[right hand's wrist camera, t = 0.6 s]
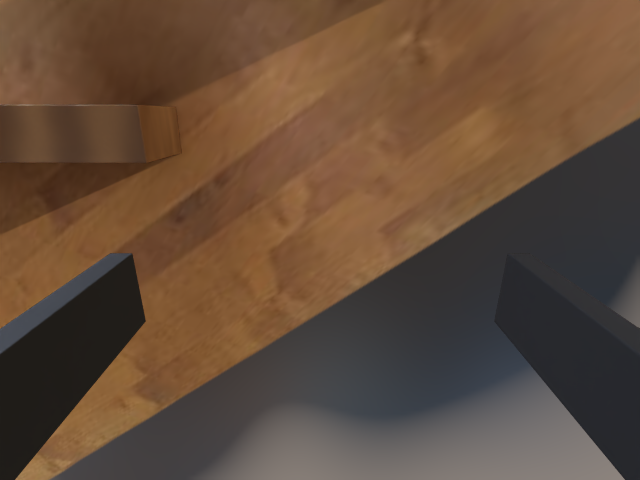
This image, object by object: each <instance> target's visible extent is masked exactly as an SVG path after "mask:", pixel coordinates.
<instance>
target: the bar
mask: <svg viewBox="0 0 640 480" xmlns="http://www.w3.org/2000/svg"><path fill="white" fill-rule="evenodd" d="M180 153H182V152H181V144H180V136H179V128H178V120H177V112H176V107H170V106H150V105H0V163H148V162H152V161H155V160H159V159H162V158H166V157H170V156H173V155H177V154H180Z"/></svg>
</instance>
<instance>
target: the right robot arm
mask: <svg viewBox="0 0 640 480" xmlns="http://www.w3.org/2000/svg"><path fill="white" fill-rule="evenodd" d="M145 321H146V320H145V315H144V310H143V305H142V300H141V295H140V290H139V285H138V280H137V275H136V270H135V265H134V260H133V255H132V253H110V254H109V255H107V256H106V257H104V258H103V259H102V260H100V261H99V262H97V263H96V264H94V265H93V266H91V267H90V268H88V269H87V270H85V271H84V272H83V273H81V274H80V275H78V276H77V277H75V278H74V279H72V280H71V281H69V282H68V283H66V284H65V285H64V286H62V287H61V288H59V289H58V290H56V291H55V292H53V293H52V294H50V295H49V296H47V297H46V298H45V299H43V300H42V301H40V302H39V303H37V304H36V305H34V306H33V307H31V308H30V309H28V310H27V311H26V312H24V313H23V314H21V315H20V316H18V317H17V318H15V319H14V320H12V321H11V322H9V323H8V324H7V325H5V326H4V327H2V328H1V329H0V480H15V479H16V478H17V477H18V475H19V474H20V473H21V472H22V470H23V469H24V468H25V467H26V466H27V464H28V463H29V462H30V461H31V460H32V458H33V457H34V456H35V455H36V454H37V452H38V451H39V450H40V449H41V447H42V446H43V445H44V444H45V443H46V441H47V440H48V439H49V438H50V437H51V435H52V434H53V433H54V432H55V431H56V429H57V428H58V427H59V426H60V424H61V423H62V422H63V421H64V420H65V418H66V417H67V416H68V415H69V414H70V412H71V411H72V410H73V409H74V407H75V406H76V405H77V404H78V403H79V401H80V400H81V399H82V398H83V397H84V395H85V394H86V393H87V392H88V391H89V389H90V388H91V387H92V386H93V384H94V383H95V382H96V381H97V380H98V378H99V377H100V376H101V375H102V374H103V372H104V371H105V370H106V369H107V368H108V366H109V365H110V364H111V363H112V361H113V360H114V359H115V358H116V357H117V355H118V354H119V353H120V352H121V351H122V349H123V348H124V347H125V346H126V344H127V343H128V342H129V341H130V340H131V338H132V337H133V336H134V335H135V334H136V332H137V331H138V330H139V329H140V328H141V326H142V325H143V324H144V323H145ZM495 323H496V324H497V325H498V326H499V327H500V329H501V330H502V331H503V332H504V334H505V335H506V336H507V337H508V338H509V340H510V341H511V342H512V343H513V344H514V346H515V347H516V348H517V349H518V351H519V352H520V353H521V354H522V355H523V357H524V358H525V359H526V360H527V361H528V363H529V364H530V365H531V366H532V367H533V369H534V370H535V371H536V372H537V374H538V375H539V376H540V377H541V378H542V380H543V381H544V382H545V383H546V384H547V386H548V387H549V388H550V389H551V390H552V392H553V393H554V394H555V395H556V397H557V398H558V399H559V400H560V401H561V403H562V404H563V405H564V406H565V407H566V409H567V410H568V411H569V412H570V414H571V415H572V416H573V417H574V418H575V420H576V421H577V422H578V423H579V424H580V426H581V427H582V428H583V429H584V430H585V432H586V433H587V434H588V435H589V437H590V438H591V439H592V440H593V441H594V443H595V444H596V445H597V446H598V447H599V449H600V450H601V451H602V452H603V454H604V455H605V456H606V457H607V458H608V460H609V461H610V462H611V463H612V464H613V466H614V467H615V468H616V469H617V470H618V472H619V473H620V474H621V475H622V477H623V478H624V479H625V480H640V328H638V327H636V326H635V325H633V324H632V323H631V322H629V321H628V320H626V319H625V318H623V317H622V316H620V315H619V314H617V313H616V312H614V311H613V310H611V309H610V308H609V307H607V306H606V305H604V304H603V303H601V302H600V301H598V300H597V299H595V298H594V297H593V296H591V295H590V294H588V293H587V292H585V291H584V290H582V289H581V288H579V287H578V286H576V285H575V284H573V283H572V282H571V281H569V280H568V279H566V278H565V277H563V276H562V275H560V274H559V273H557V272H556V271H555V270H553V269H552V268H550V267H549V266H547V265H546V264H544V263H543V262H541V261H540V260H538V259H537V258H536V257H534V256H533V255H531V254H529V253H525V254H524V253H516V254H515V253H509V254H508V255H507V260H506V265H505V270H504V275H503V280H502V285H501V290H500V295H499V300H498V305H497V310H496V316H495Z"/></svg>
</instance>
